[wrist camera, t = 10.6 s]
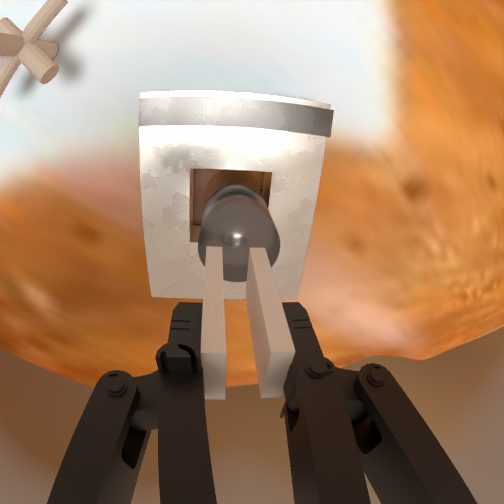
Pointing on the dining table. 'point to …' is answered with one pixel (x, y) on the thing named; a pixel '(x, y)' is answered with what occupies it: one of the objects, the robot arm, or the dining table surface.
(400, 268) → the dining table surface
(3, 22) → the tan toy jack
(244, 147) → the block
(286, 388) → the robot arm
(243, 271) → the dark steel cylinder
